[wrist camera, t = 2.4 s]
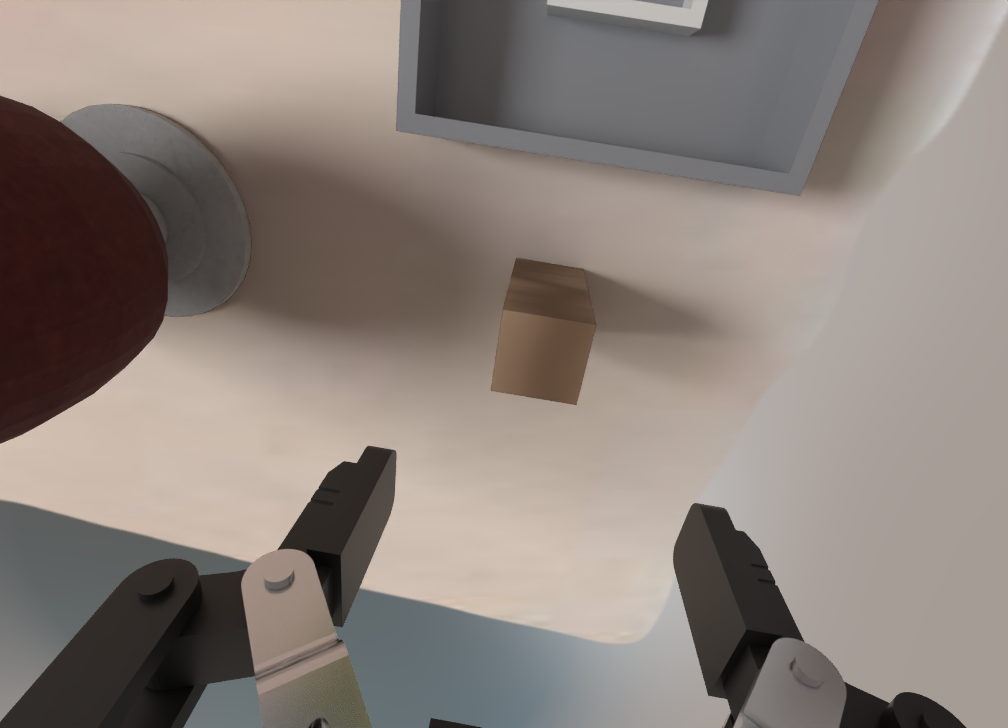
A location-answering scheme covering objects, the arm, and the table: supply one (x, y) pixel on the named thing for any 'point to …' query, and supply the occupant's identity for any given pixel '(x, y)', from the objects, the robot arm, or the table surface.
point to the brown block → (544, 333)
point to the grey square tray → (635, 81)
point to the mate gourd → (103, 247)
